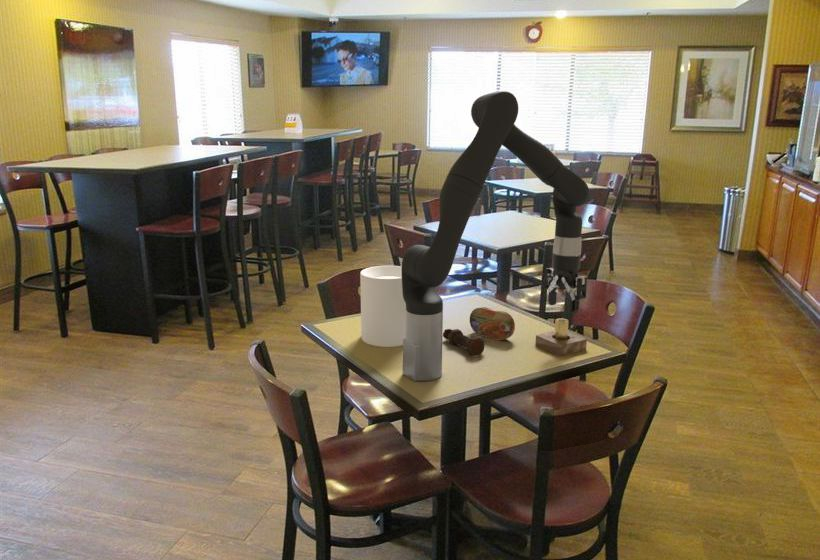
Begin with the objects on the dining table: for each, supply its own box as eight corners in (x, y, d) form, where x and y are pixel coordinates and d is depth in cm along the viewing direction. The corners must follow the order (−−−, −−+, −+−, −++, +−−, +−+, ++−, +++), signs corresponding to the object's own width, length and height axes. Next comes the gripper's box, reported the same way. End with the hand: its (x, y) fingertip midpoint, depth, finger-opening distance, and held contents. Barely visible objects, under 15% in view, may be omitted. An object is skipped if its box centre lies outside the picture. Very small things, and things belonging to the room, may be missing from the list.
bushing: (560, 350, 185) (561, 322, 183) (551, 346, 188) (552, 319, 186) (569, 347, 187) (571, 320, 185) (560, 344, 190) (562, 317, 188)
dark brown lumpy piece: (449, 345, 194) (479, 359, 182) (436, 339, 192) (466, 354, 179) (457, 327, 195) (487, 340, 182) (444, 321, 192) (475, 334, 179)
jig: (560, 355, 181) (560, 345, 180) (535, 344, 189) (535, 335, 188) (586, 349, 186) (586, 339, 185) (561, 338, 194) (561, 329, 193)
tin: (468, 331, 200) (469, 305, 198) (474, 329, 203) (475, 303, 200) (509, 343, 190) (510, 315, 188) (515, 340, 193) (517, 313, 190)
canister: (369, 349, 185) (368, 281, 180) (355, 331, 200) (354, 267, 195) (422, 343, 190) (423, 276, 185) (405, 326, 205) (405, 264, 200)
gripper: (538, 248, 184) (535, 304, 188) (575, 258, 173) (571, 317, 177) (558, 246, 188) (555, 300, 192) (596, 255, 176) (591, 313, 180)
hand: (562, 308), depth 184 cm, fingers open, 8 cm apart
